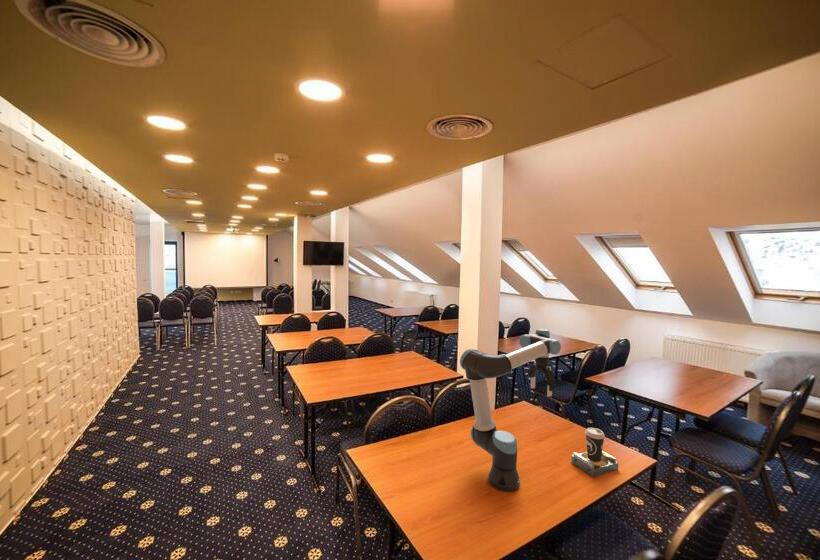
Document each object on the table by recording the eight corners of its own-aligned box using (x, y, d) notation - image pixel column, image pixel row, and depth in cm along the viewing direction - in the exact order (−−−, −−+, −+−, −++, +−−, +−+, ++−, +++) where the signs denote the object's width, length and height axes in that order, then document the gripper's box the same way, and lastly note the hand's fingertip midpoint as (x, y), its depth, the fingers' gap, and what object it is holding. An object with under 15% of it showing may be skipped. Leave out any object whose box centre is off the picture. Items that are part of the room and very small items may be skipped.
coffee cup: (602, 465, 179) (603, 437, 179) (582, 459, 185) (583, 431, 184) (605, 457, 187) (606, 430, 186) (586, 451, 192) (586, 425, 192)
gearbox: (592, 477, 176) (592, 466, 176) (570, 462, 189) (570, 452, 189) (618, 470, 182) (618, 459, 182) (595, 456, 195) (595, 446, 195)
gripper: (563, 360, 189) (562, 398, 189) (532, 350, 212) (531, 384, 213) (553, 362, 186) (551, 400, 187) (522, 351, 209) (521, 385, 210)
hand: (540, 392), depth 200 cm, fingers open, 13 cm apart
